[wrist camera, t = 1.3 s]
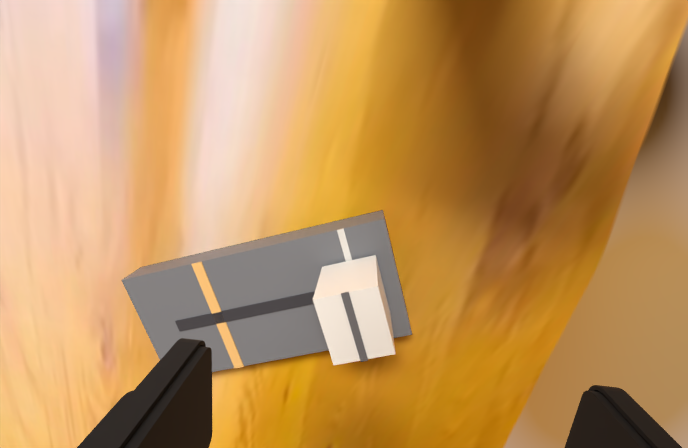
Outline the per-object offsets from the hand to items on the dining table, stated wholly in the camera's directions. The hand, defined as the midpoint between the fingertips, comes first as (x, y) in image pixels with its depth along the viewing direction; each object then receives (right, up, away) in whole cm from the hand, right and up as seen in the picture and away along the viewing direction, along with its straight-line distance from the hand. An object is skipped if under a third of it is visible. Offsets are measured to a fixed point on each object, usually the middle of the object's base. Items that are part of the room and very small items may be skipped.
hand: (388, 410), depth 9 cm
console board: (-8, -2, +28) cm, 29 cm away
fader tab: (0, -1, +23) cm, 23 cm away
